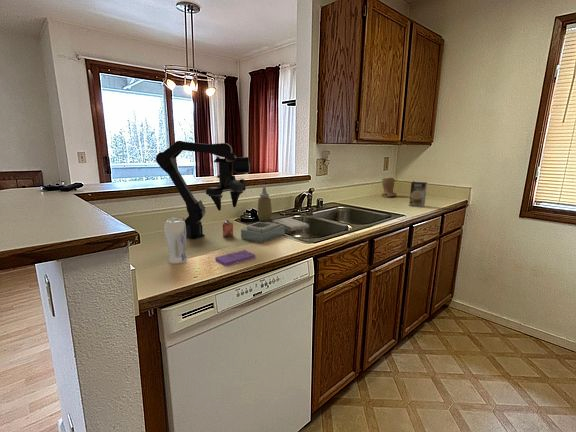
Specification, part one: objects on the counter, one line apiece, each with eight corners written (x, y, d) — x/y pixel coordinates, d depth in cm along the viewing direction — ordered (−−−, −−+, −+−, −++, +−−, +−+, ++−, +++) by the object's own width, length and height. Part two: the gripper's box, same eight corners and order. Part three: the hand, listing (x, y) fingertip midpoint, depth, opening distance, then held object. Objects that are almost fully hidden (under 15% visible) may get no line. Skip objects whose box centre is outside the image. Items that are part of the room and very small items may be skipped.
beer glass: (170, 257, 113) (167, 217, 110) (190, 257, 114) (187, 217, 110) (164, 265, 106) (160, 222, 103) (185, 264, 107) (182, 222, 104)
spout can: (228, 238, 137) (227, 221, 135) (220, 236, 139) (220, 219, 138) (235, 235, 141) (234, 219, 139) (228, 234, 143) (227, 217, 141)
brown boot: (384, 194, 259) (385, 176, 255) (398, 195, 252) (400, 177, 248) (376, 196, 247) (378, 177, 244) (391, 198, 240) (393, 178, 237)
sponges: (255, 259, 114) (255, 254, 113) (224, 267, 106) (224, 262, 105) (245, 254, 119) (245, 249, 118) (215, 261, 111) (214, 256, 110)
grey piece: (262, 243, 130) (262, 230, 129) (241, 238, 137) (240, 225, 136) (288, 232, 145) (288, 221, 144) (268, 229, 152) (268, 217, 151)
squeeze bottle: (270, 222, 165) (269, 188, 161) (255, 221, 167) (254, 188, 163) (273, 218, 173) (273, 186, 169) (259, 218, 174) (259, 186, 170)
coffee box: (408, 206, 210) (410, 182, 206) (410, 204, 215) (412, 181, 211) (423, 207, 205) (425, 183, 201) (424, 205, 210) (427, 182, 207)
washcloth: (288, 221, 169) (288, 216, 168) (310, 228, 155) (310, 222, 154) (270, 225, 162) (270, 219, 161) (291, 232, 148) (291, 226, 147)
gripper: (223, 175, 122) (225, 214, 126) (254, 172, 137) (254, 207, 141) (204, 174, 128) (206, 211, 132) (235, 171, 143) (236, 204, 147)
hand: (227, 208), depth 138 cm, fingers open, 9 cm apart
